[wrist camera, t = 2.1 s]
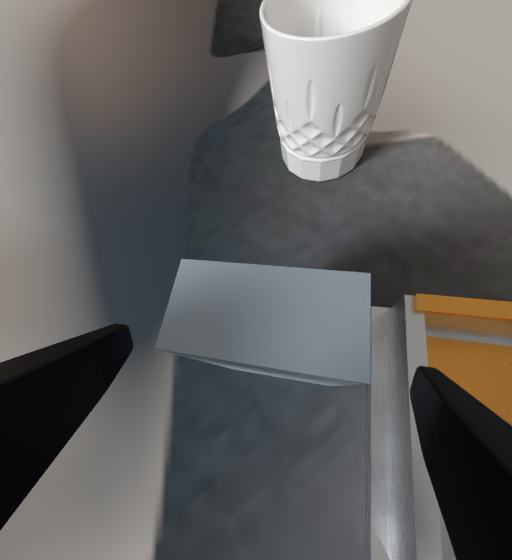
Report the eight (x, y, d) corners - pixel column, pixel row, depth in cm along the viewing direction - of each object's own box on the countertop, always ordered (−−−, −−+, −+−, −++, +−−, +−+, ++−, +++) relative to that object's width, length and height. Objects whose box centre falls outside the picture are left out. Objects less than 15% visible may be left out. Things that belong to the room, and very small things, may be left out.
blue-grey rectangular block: (331, 386, 15) (370, 383, 6) (236, 369, 17) (154, 348, 8) (334, 336, 16) (370, 273, 7) (244, 324, 18) (181, 258, 9)
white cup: (357, 113, 24) (390, -58, 15) (380, 178, 20) (441, 11, 11) (272, 131, 25) (254, -19, 16) (282, 195, 21) (266, 55, 12)
